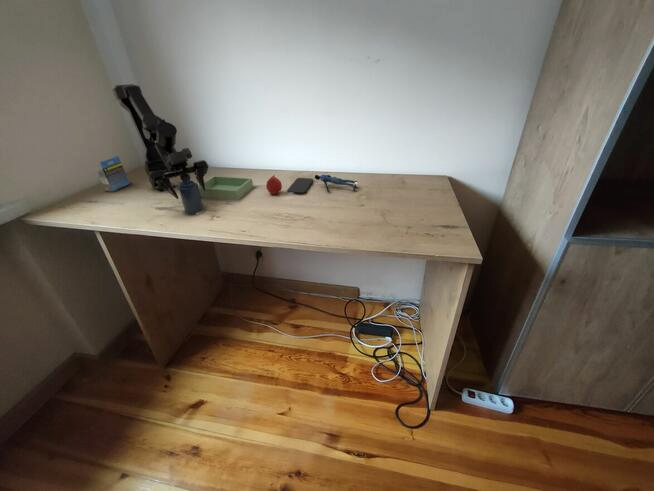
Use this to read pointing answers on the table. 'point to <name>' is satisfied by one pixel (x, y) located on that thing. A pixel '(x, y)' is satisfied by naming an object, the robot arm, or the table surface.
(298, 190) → the phone
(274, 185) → the onion
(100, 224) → the table surface
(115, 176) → the tape cartridge
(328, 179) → the person figurine
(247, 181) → the bin
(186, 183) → the bottle
